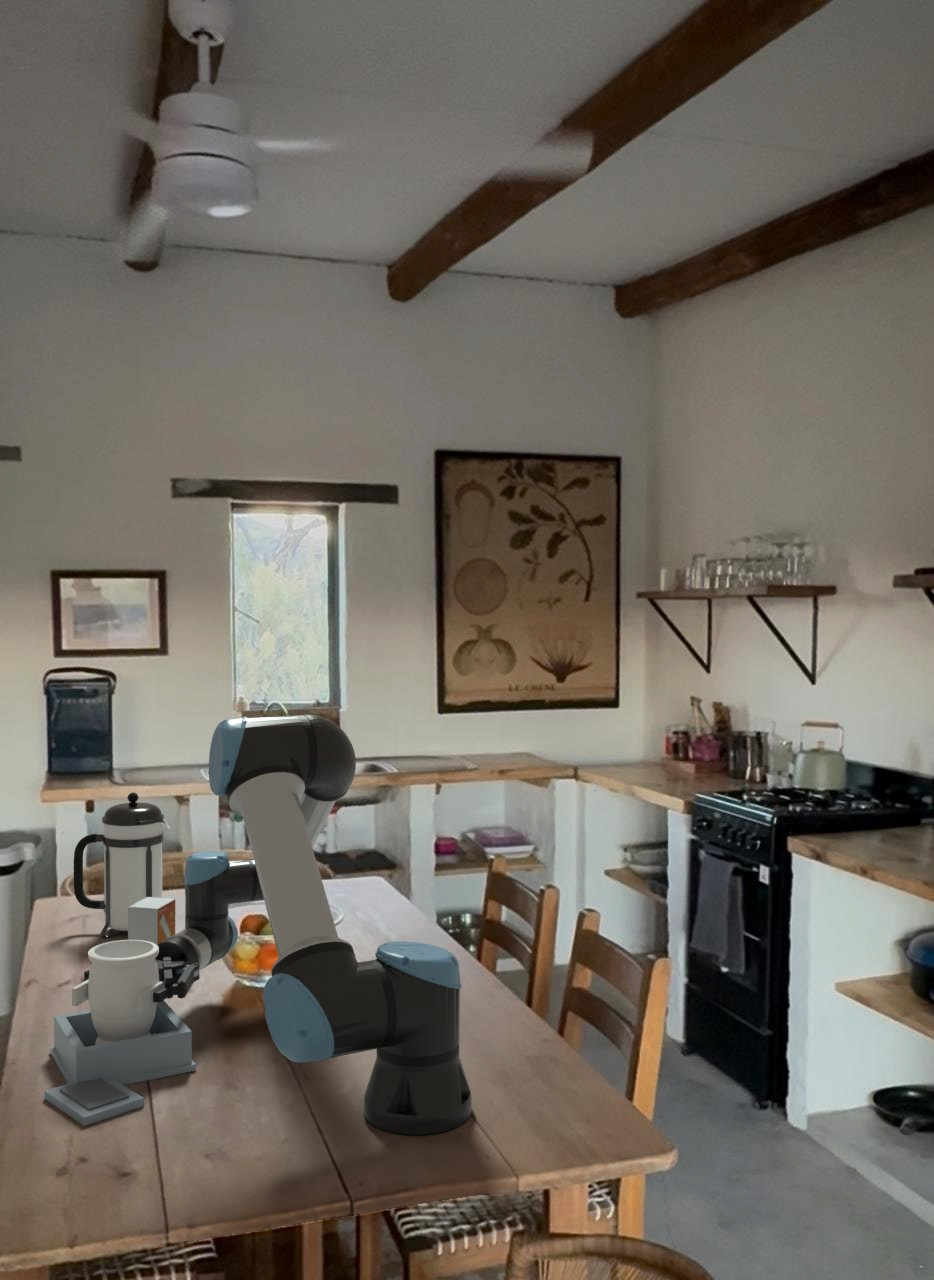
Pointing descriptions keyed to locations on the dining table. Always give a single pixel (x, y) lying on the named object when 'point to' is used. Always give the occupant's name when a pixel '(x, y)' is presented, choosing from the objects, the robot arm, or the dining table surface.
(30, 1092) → the dining table surface
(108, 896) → the coffee press
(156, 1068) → the housing
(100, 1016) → the jar
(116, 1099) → the lid
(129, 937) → the small box
